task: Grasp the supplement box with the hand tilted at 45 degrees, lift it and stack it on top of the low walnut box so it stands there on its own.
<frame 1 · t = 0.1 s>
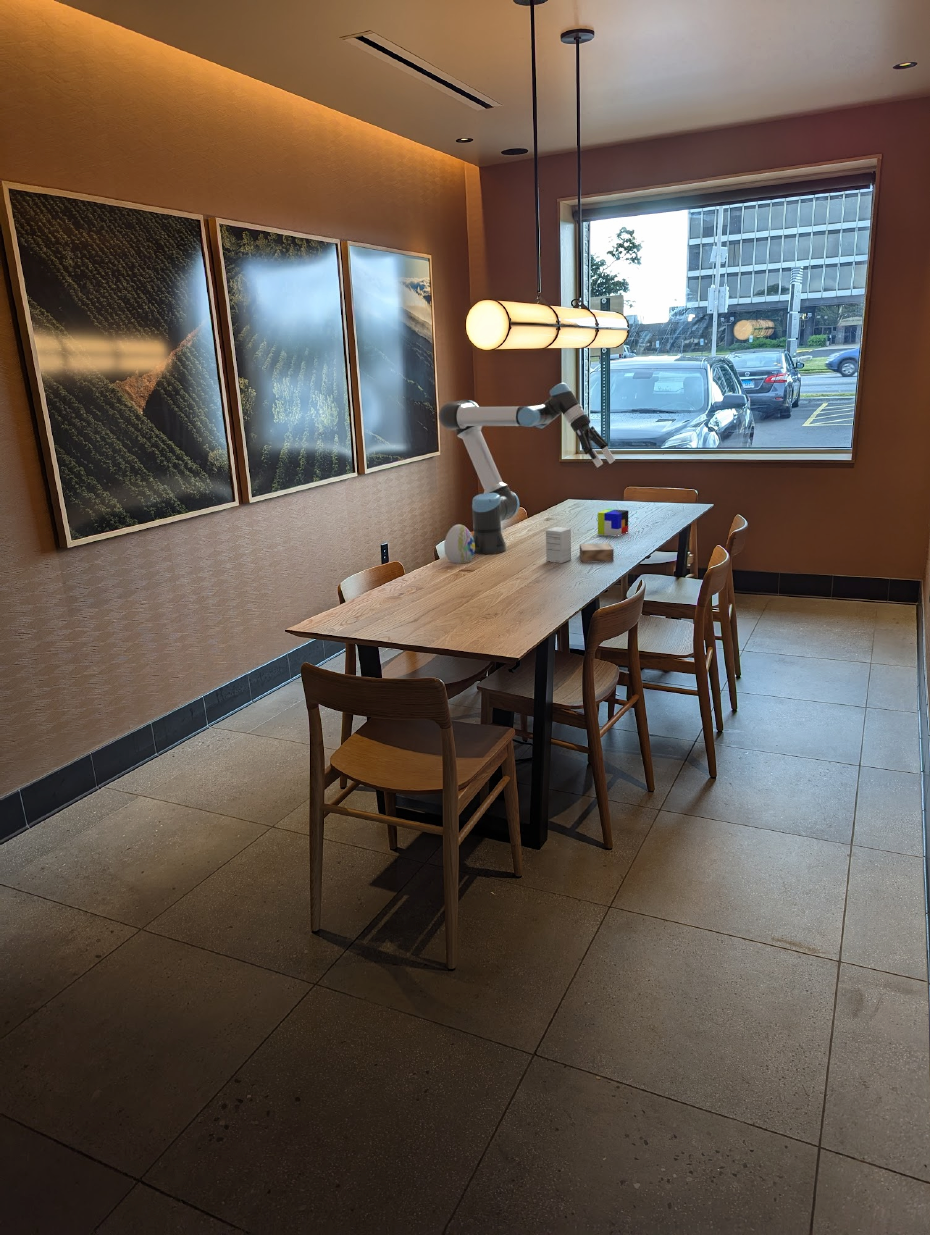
hand: (606, 463, 330), 36 cm above the table, tool tilted 35°, fingers open, 13 cm apart
supplement box: (558, 561, 331), on the table
puzzle toy: (613, 534, 376), on the table
decorative egg: (460, 561, 337), on the table
walnut box: (596, 558, 332), on the table
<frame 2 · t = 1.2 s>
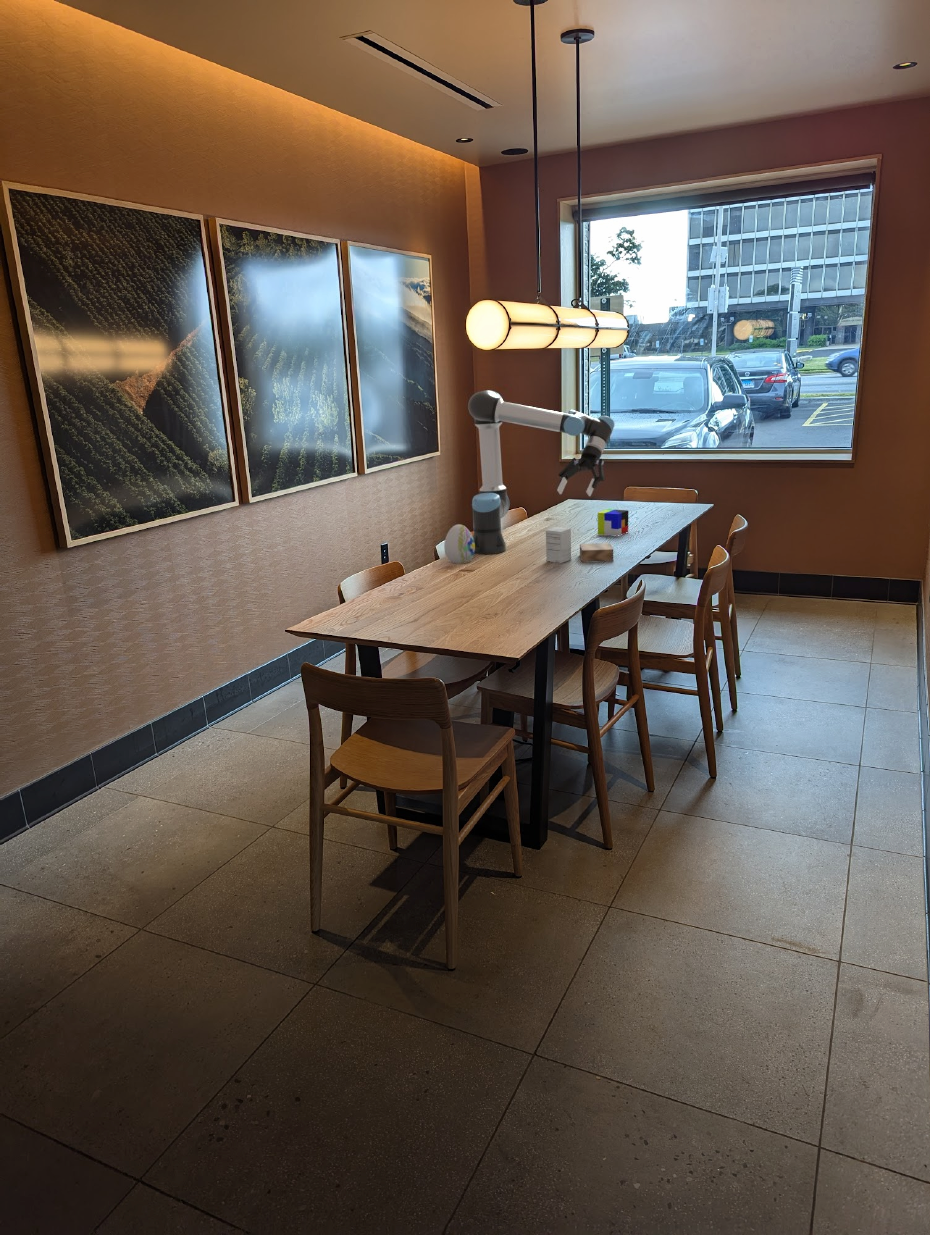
hand: (573, 493, 331), 25 cm above the table, tool tilted 45°, fingers open, 13 cm apart
nothing on the table moved.
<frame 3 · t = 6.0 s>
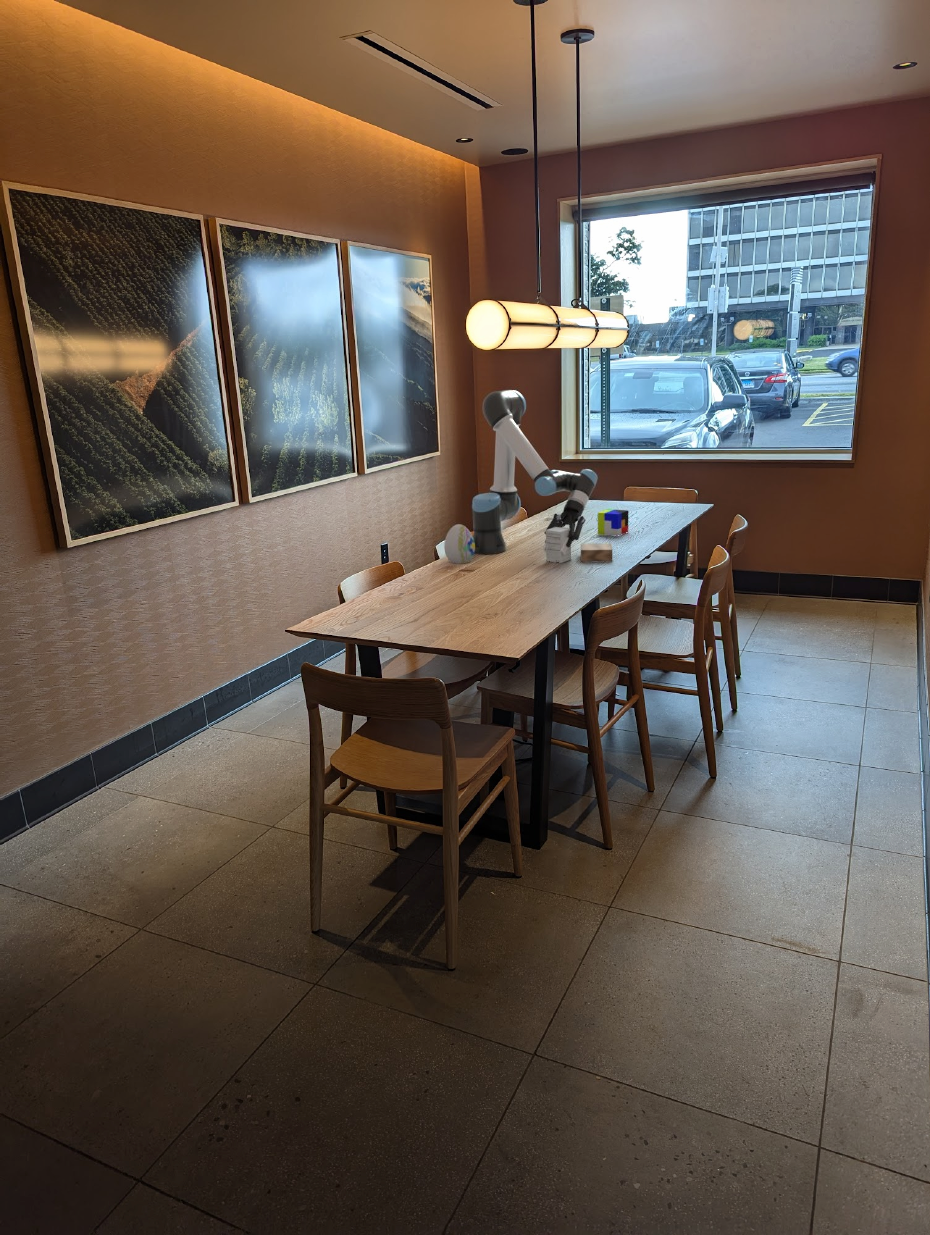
hand: (553, 552, 327), 4 cm above the table, tool tilted 45°, fingers closed on supplement box, 7 cm apart
supplement box: (558, 561, 331), on the table, touching gripper
everything else where it was.
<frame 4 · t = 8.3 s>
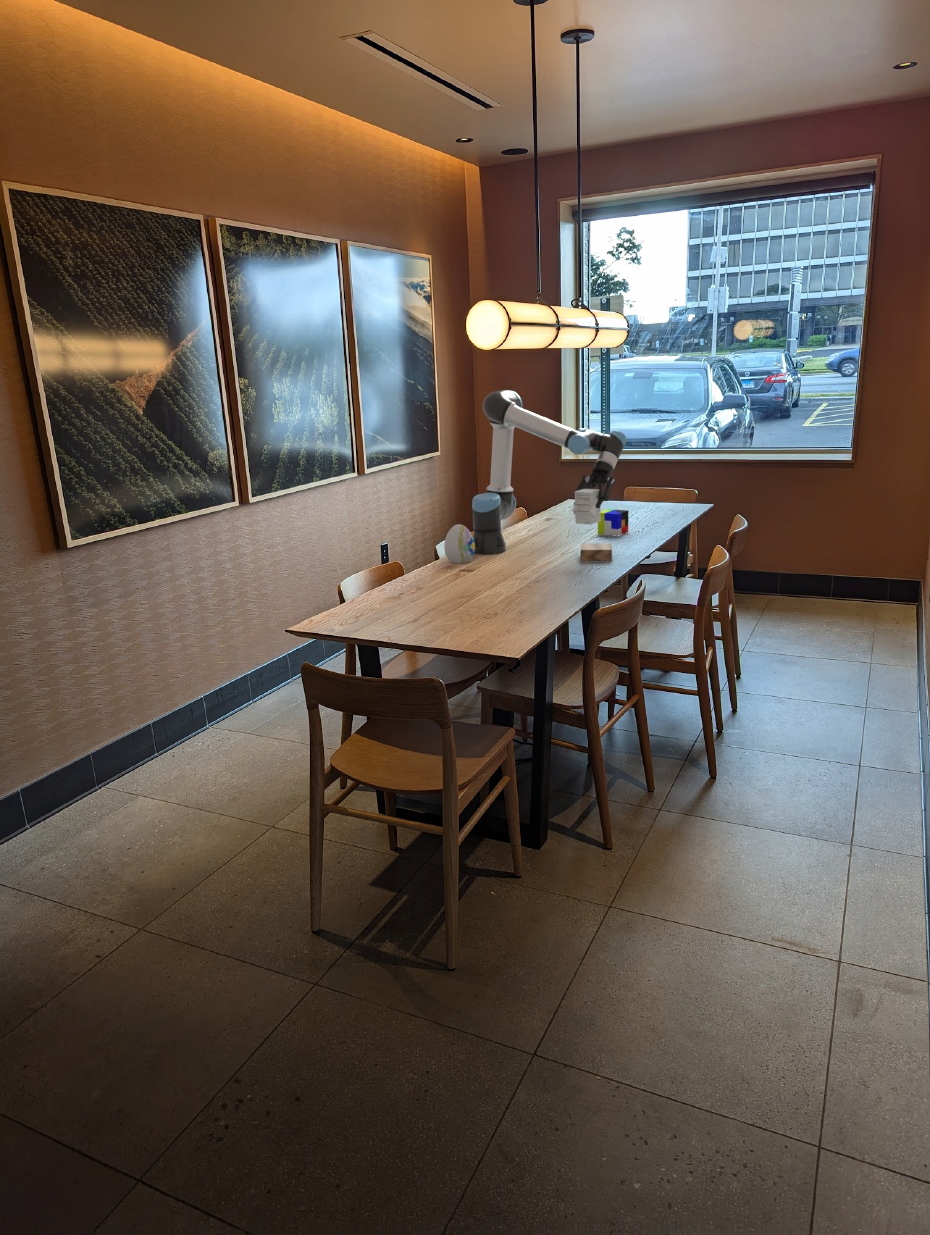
hand: (583, 513, 323), 19 cm above the table, tool tilted 45°, fingers closed on supplement box, 7 cm apart
supplement box: (588, 523, 327), point 14 cm above the table, touching gripper
everything else where it was.
when the fingers open (10 cm above the table, at t = 10.6 s): supplement box drops 2 cm, point 4 cm above the table.
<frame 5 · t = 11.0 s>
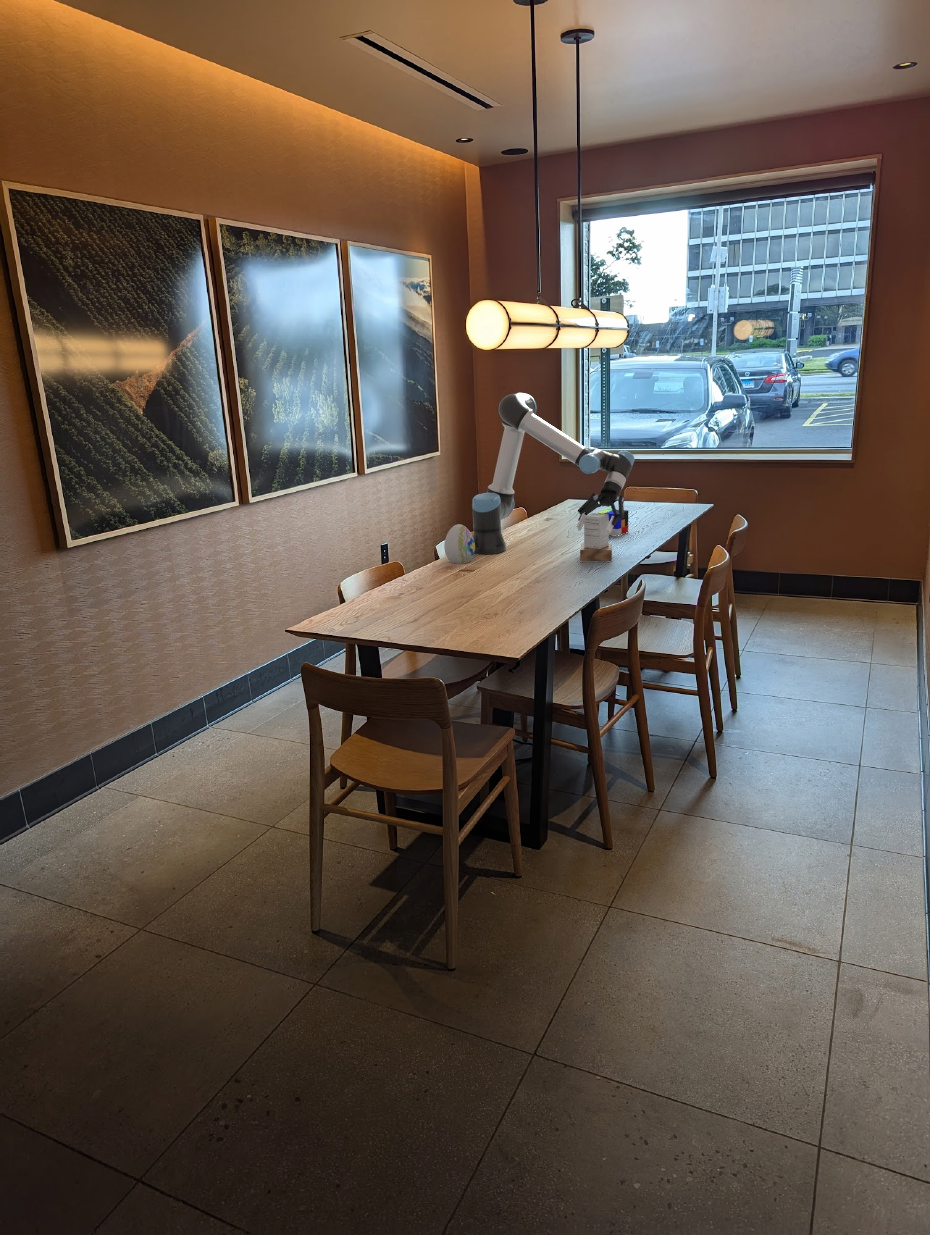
hand: (593, 530, 327), 12 cm above the table, tool tilted 45°, fingers open, 13 cm apart
supplement box: (596, 547, 331), point 4 cm above the table
everything else where it was.
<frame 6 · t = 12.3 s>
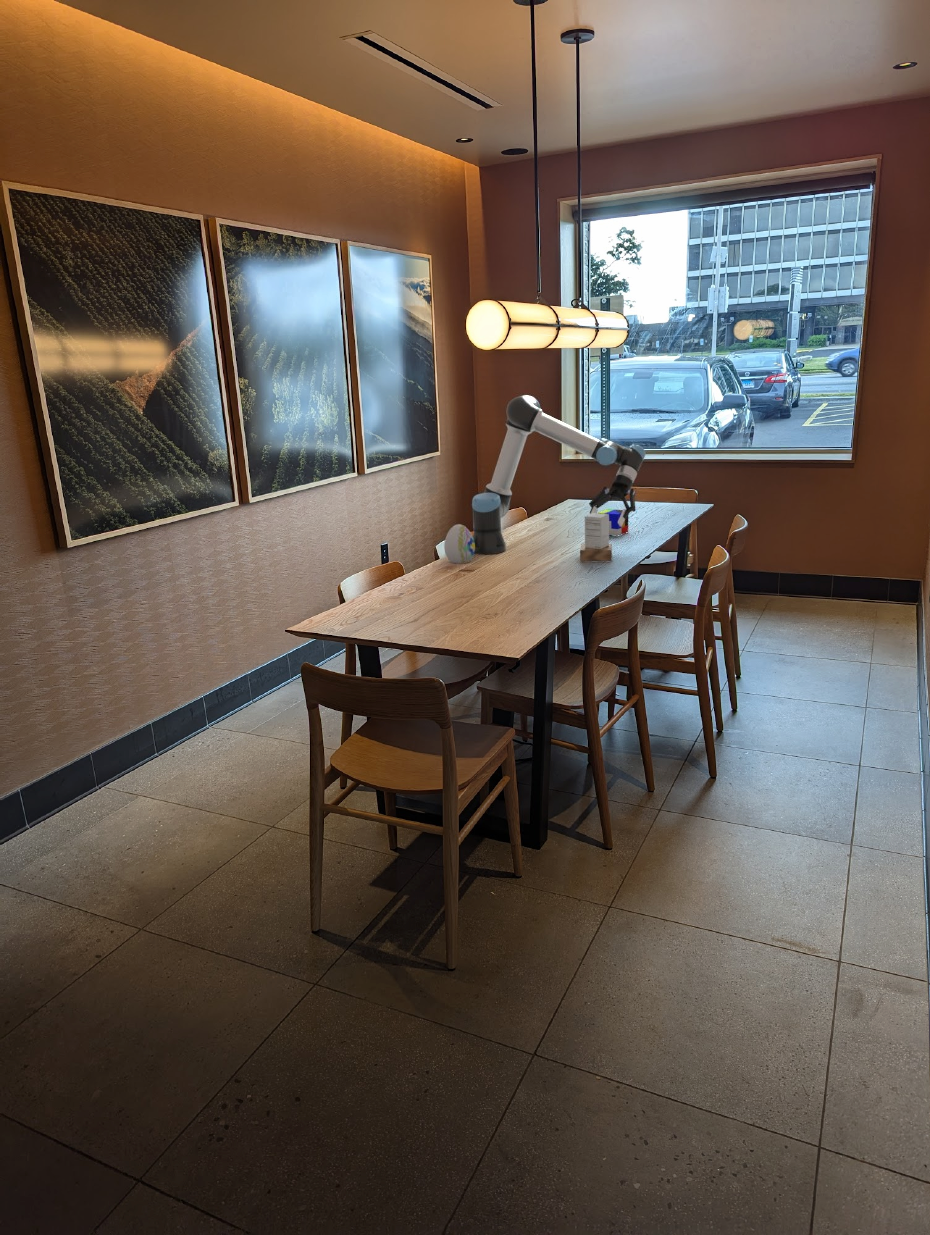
hand: (604, 523, 332), 13 cm above the table, tool tilted 45°, fingers open, 13 cm apart
supplement box: (596, 547, 331), point 4 cm above the table, touching walnut box
walnut box: (596, 559, 332), on the table, touching supplement box
everything else where it was.
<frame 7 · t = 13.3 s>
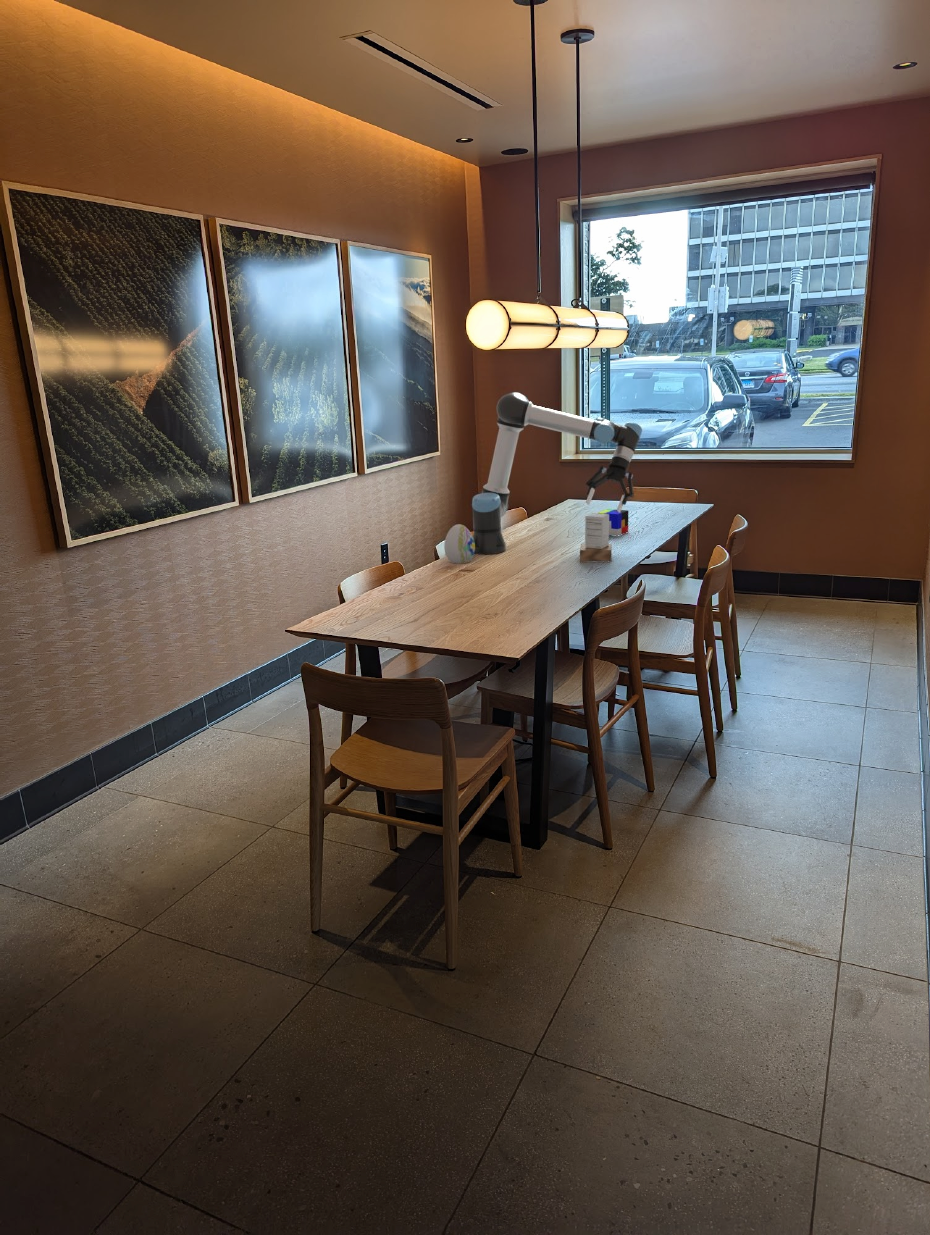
hand: (602, 507, 337), 18 cm above the table, tool tilted 35°, fingers open, 13 cm apart
supplement box: (596, 547, 330), point 4 cm above the table
walnut box: (595, 559, 332), on the table
everything else where it was.
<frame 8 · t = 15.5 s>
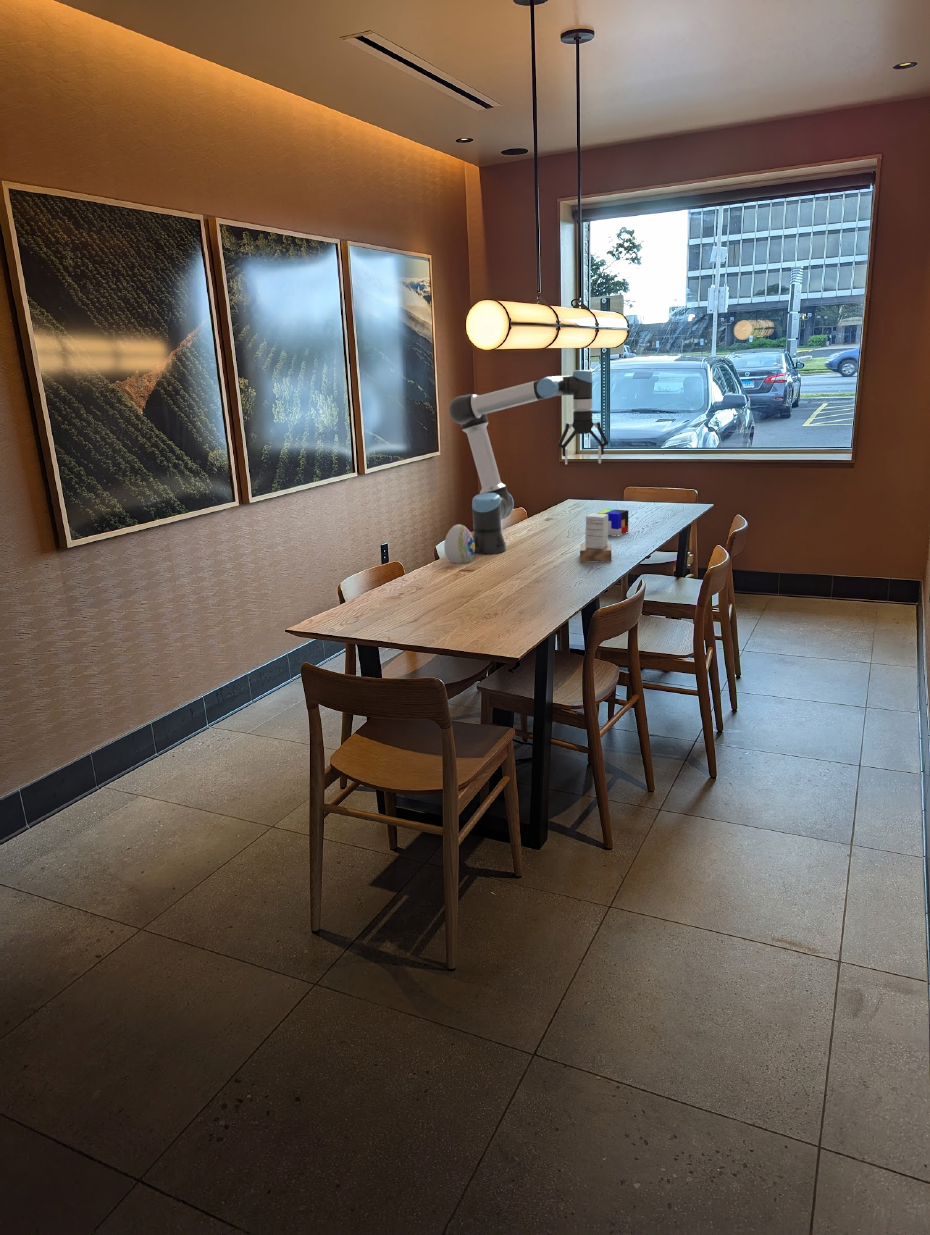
hand: (582, 463, 342), 35 cm above the table, tool pointing down, fingers open, 13 cm apart
supplement box: (596, 547, 330), point 4 cm above the table, touching walnut box
walnut box: (595, 559, 332), on the table, touching supplement box
everything else where it was.
at the end: supplement box inside the target area on the walnut box (0.3 cm from its centre), point 5.0 cm above the walnut box's base; supplement box tilted 2°; the gripper is holding nothing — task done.
